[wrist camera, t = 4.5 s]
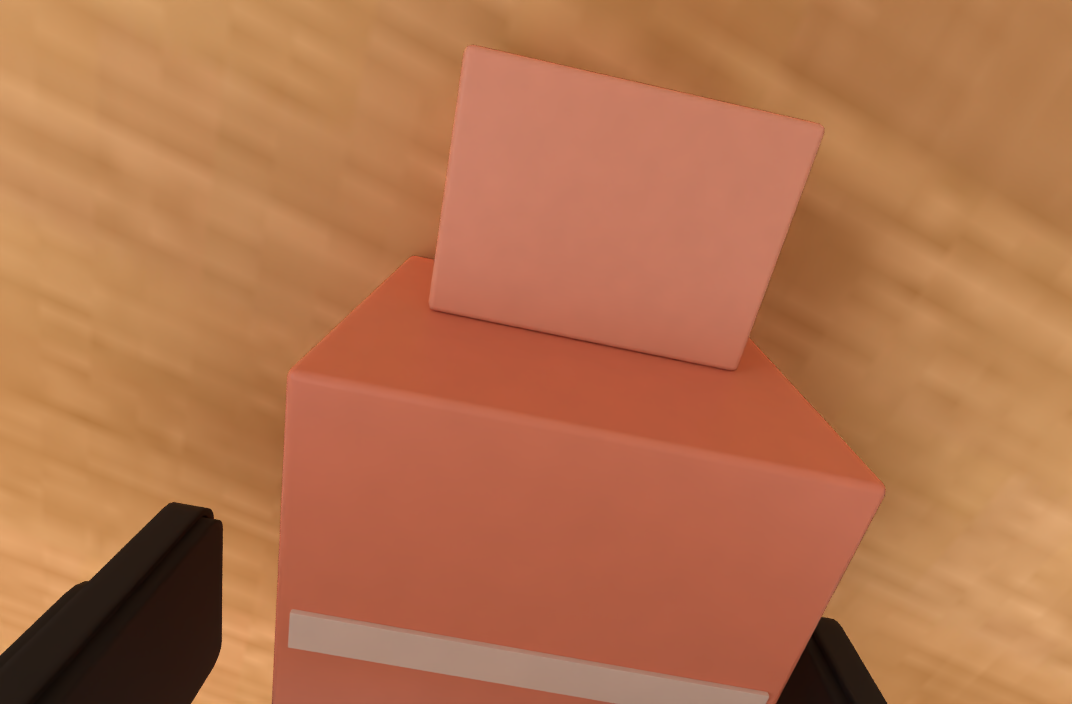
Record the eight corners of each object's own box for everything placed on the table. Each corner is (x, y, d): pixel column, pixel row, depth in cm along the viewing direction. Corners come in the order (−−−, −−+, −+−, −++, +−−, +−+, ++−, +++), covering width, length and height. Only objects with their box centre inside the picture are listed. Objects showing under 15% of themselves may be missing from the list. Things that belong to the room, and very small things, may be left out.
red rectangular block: (435, 52, 8) (297, -31, 4) (803, 135, 9) (1079, 150, 4) (357, 677, 13) (255, 967, 9) (595, 717, 13) (617, 1020, 9)
